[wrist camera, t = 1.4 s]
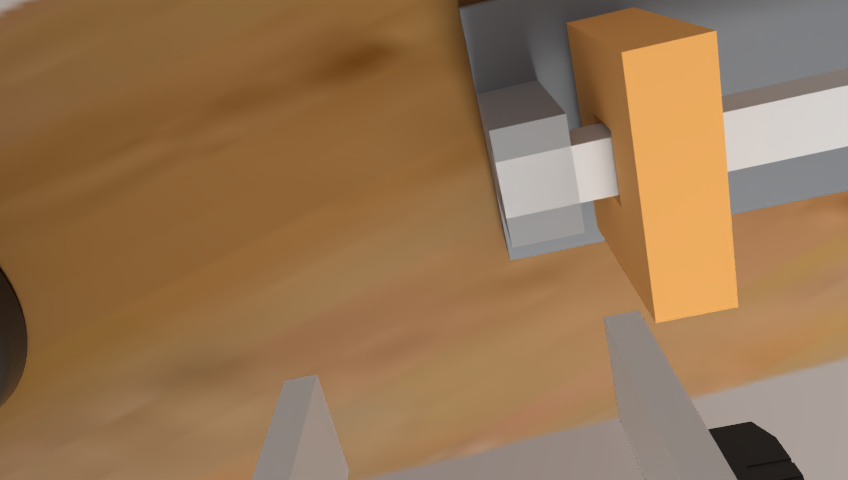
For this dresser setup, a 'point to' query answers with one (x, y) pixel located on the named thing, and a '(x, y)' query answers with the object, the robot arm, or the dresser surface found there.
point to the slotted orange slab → (661, 156)
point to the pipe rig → (592, 145)
